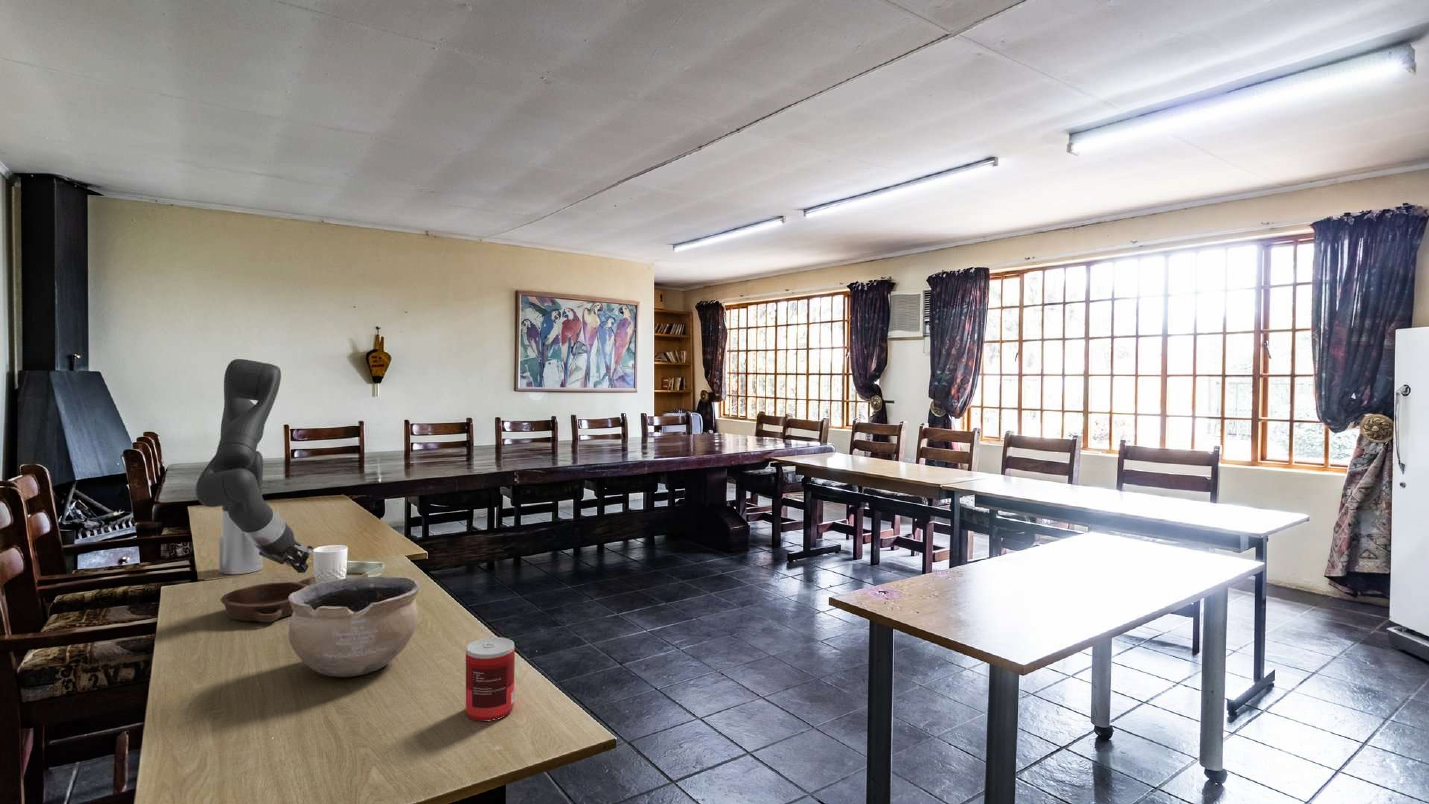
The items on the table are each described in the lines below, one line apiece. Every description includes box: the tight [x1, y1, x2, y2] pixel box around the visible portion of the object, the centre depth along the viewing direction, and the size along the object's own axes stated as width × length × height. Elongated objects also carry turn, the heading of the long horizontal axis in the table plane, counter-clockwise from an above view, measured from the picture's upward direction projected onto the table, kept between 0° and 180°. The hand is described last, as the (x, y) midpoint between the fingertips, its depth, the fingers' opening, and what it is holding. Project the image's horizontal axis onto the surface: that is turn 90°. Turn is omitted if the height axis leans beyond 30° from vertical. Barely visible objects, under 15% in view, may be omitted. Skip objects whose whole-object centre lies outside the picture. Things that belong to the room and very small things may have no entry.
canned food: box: [465, 636, 516, 722], centre depth 117 cm, size 8×8×11 cm
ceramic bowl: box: [287, 576, 420, 678], centre depth 133 cm, size 22×22×15 cm
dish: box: [220, 581, 308, 623], centre depth 163 cm, size 18×22×5 cm
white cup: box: [312, 544, 349, 585], centre depth 183 cm, size 8×8×10 cm
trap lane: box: [295, 560, 385, 586], centre depth 186 cm, size 13×24×3 cm, turn 175°
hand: (303, 569), depth 173 cm, fingers closed
